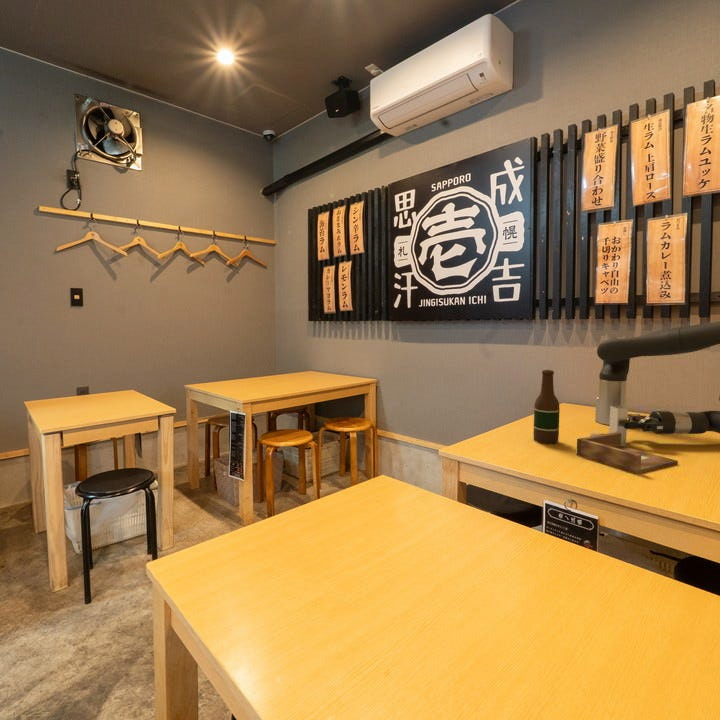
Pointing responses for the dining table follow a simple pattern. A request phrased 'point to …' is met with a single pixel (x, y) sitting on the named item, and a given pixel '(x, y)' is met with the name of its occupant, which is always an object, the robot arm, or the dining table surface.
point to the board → (647, 461)
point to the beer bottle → (546, 412)
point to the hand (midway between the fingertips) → (617, 422)
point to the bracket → (617, 422)
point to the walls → (609, 450)
